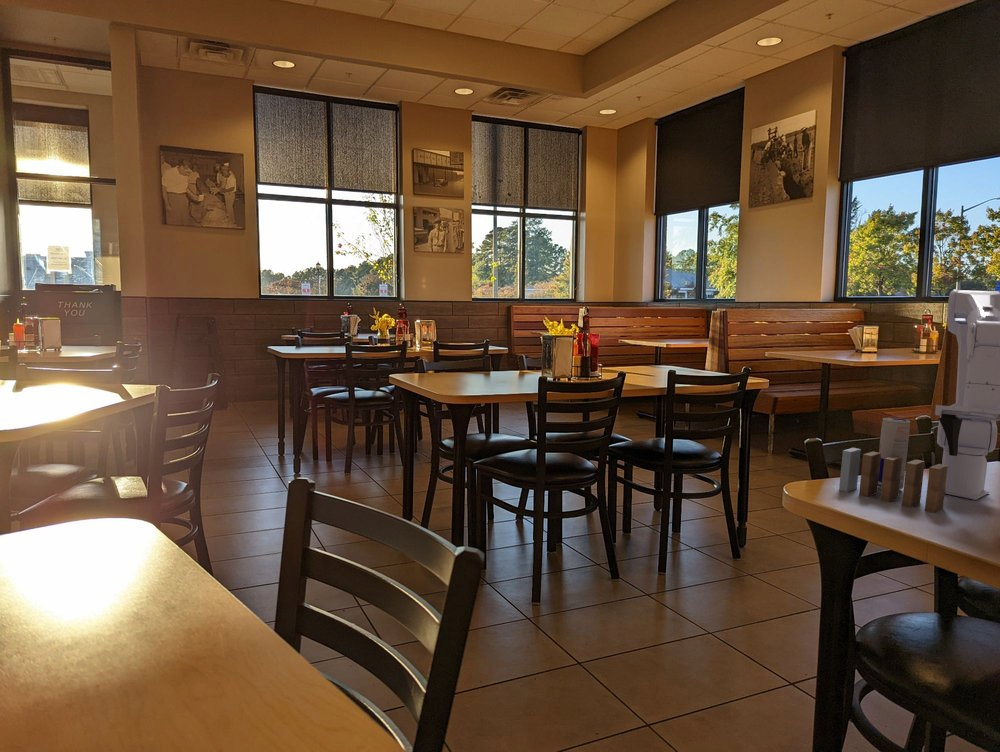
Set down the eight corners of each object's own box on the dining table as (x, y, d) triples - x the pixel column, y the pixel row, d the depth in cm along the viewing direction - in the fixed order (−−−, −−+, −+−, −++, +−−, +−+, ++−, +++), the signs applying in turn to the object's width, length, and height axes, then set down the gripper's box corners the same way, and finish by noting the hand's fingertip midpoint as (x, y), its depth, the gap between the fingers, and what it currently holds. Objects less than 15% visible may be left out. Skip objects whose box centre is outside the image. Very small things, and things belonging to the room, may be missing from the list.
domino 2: (868, 491, 143) (873, 451, 142) (877, 493, 142) (881, 453, 141) (859, 494, 140) (863, 454, 139) (867, 496, 139) (871, 455, 138)
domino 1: (849, 486, 146) (852, 447, 145) (856, 488, 145) (860, 449, 144) (838, 490, 143) (842, 450, 142) (846, 491, 142) (850, 451, 141)
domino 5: (933, 506, 134) (938, 463, 133) (943, 508, 133) (948, 465, 132) (924, 510, 131) (929, 467, 130) (934, 512, 130) (939, 469, 129)
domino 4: (911, 500, 137) (915, 459, 136) (920, 502, 136) (924, 461, 135) (901, 504, 134) (906, 462, 133) (910, 507, 133) (915, 464, 132)
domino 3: (889, 495, 140) (893, 455, 139) (898, 497, 139) (902, 457, 138) (879, 499, 137) (884, 458, 136) (888, 501, 136) (893, 460, 135)
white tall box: (895, 486, 148) (903, 417, 146) (907, 493, 143) (915, 421, 141) (871, 484, 148) (878, 416, 146) (881, 491, 143) (889, 420, 141)
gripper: (932, 380, 130) (925, 452, 130) (1027, 386, 119) (1019, 464, 119) (945, 384, 135) (938, 453, 135) (1037, 389, 124) (1029, 465, 124)
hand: (976, 458), depth 127 cm, fingers open, 7 cm apart
